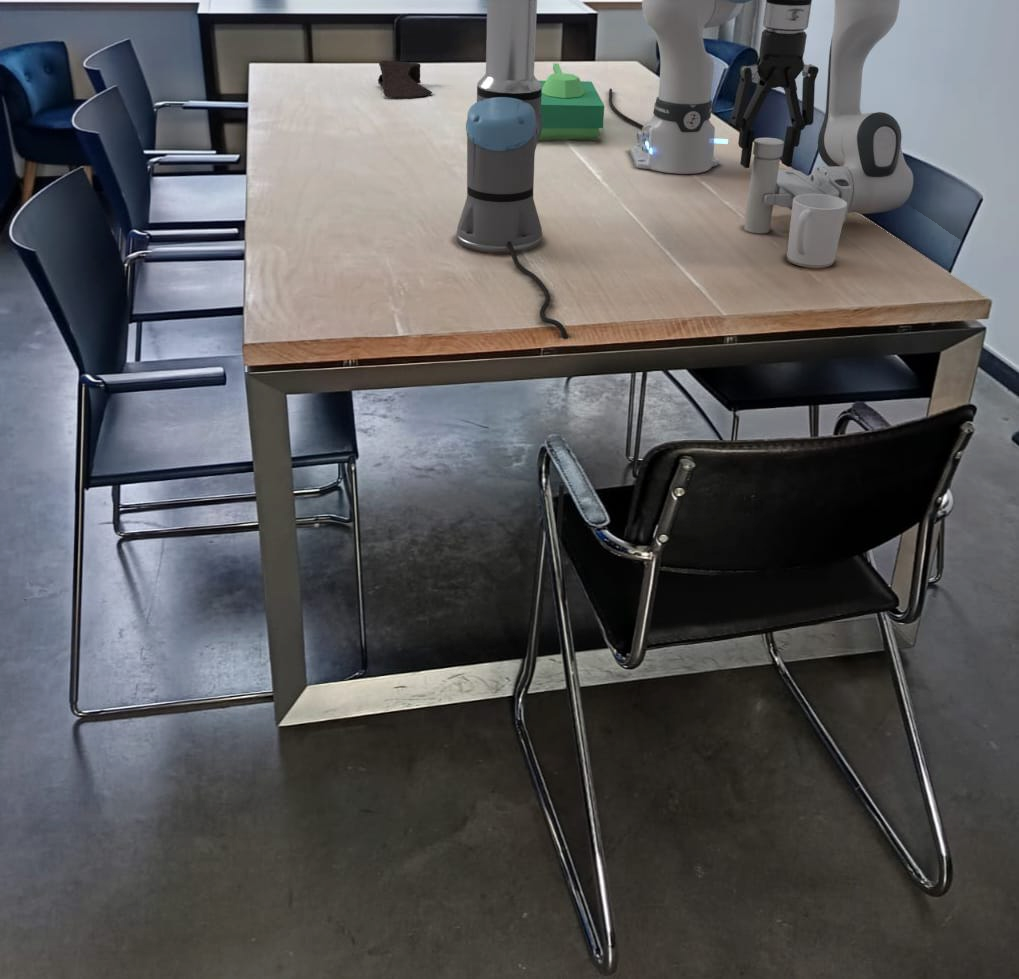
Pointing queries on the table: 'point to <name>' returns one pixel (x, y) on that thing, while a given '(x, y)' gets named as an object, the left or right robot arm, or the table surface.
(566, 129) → the toy tank
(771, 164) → the grey bottle
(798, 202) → the mug
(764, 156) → the lid
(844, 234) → the table surface
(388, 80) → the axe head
